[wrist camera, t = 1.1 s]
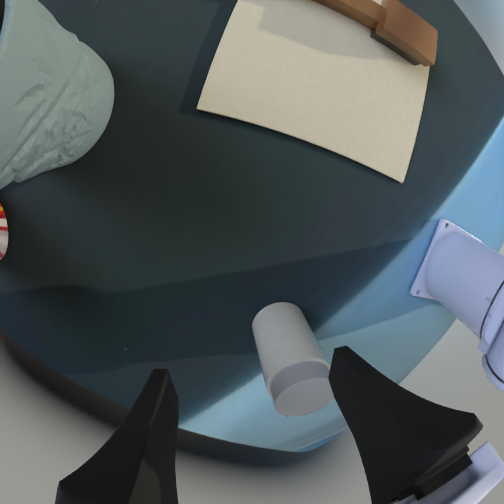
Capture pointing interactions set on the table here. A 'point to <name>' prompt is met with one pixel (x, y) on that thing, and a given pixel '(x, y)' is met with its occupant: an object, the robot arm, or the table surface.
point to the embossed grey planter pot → (47, 93)
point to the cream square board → (317, 82)
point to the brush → (392, 27)
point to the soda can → (3, 233)
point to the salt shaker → (291, 360)
